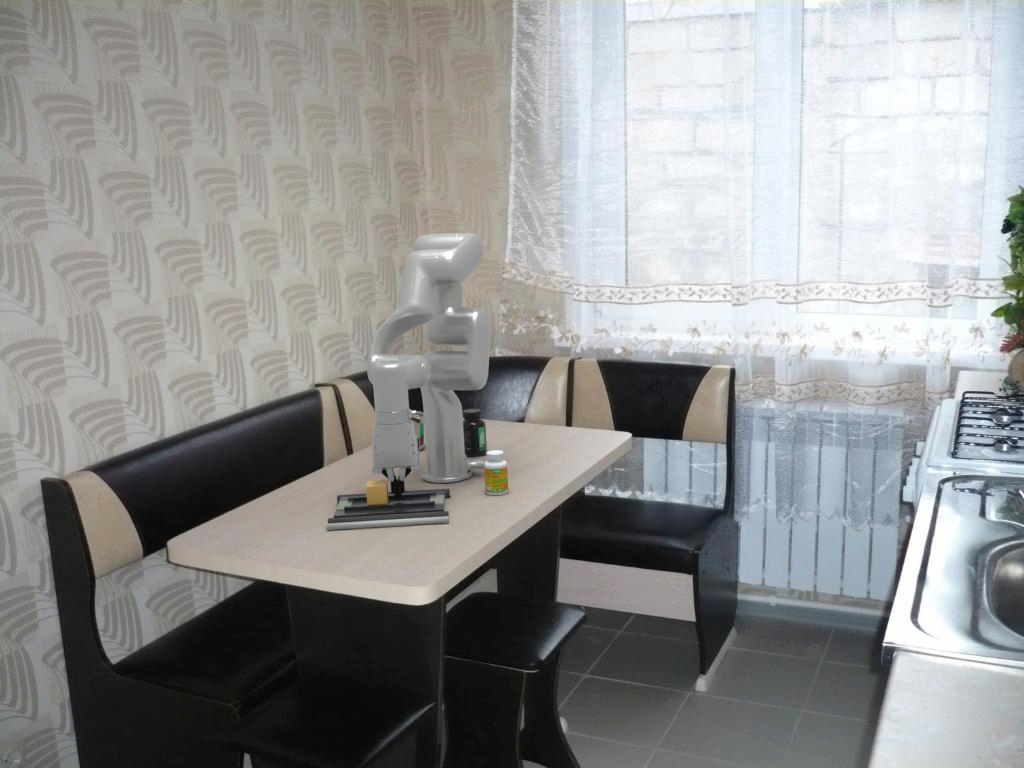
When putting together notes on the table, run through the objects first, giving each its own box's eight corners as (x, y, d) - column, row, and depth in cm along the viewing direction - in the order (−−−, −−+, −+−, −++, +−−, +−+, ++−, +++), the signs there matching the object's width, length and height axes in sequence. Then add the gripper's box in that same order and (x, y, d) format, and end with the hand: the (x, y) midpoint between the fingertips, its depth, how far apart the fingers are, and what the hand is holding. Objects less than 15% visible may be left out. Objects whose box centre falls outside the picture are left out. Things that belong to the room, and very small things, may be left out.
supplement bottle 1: (489, 456, 281) (487, 412, 279) (464, 458, 279) (461, 414, 277) (484, 450, 288) (481, 406, 285) (459, 452, 286) (456, 409, 284)
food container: (437, 447, 293) (435, 412, 291) (424, 452, 288) (421, 416, 286) (402, 443, 300) (399, 408, 298) (388, 448, 294) (386, 413, 293)
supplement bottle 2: (491, 497, 245) (489, 456, 243) (481, 491, 249) (479, 451, 248) (512, 493, 247) (510, 452, 245) (502, 487, 252) (499, 448, 250)
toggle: (388, 498, 240) (387, 479, 239) (387, 505, 235) (385, 485, 234) (369, 499, 240) (368, 480, 239) (367, 506, 235) (365, 486, 234)
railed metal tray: (445, 499, 245) (444, 487, 244) (444, 518, 231) (443, 505, 231) (341, 505, 244) (340, 493, 244) (334, 524, 230) (333, 512, 230)
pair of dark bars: (450, 495, 247) (449, 487, 247) (448, 523, 227) (448, 514, 227) (338, 502, 247) (338, 494, 246) (327, 531, 227) (326, 522, 226)
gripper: (426, 411, 238) (432, 489, 241) (360, 415, 237) (366, 493, 240) (426, 418, 230) (431, 499, 234) (357, 422, 230) (363, 503, 233)
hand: (398, 496), depth 237 cm, fingers closed
